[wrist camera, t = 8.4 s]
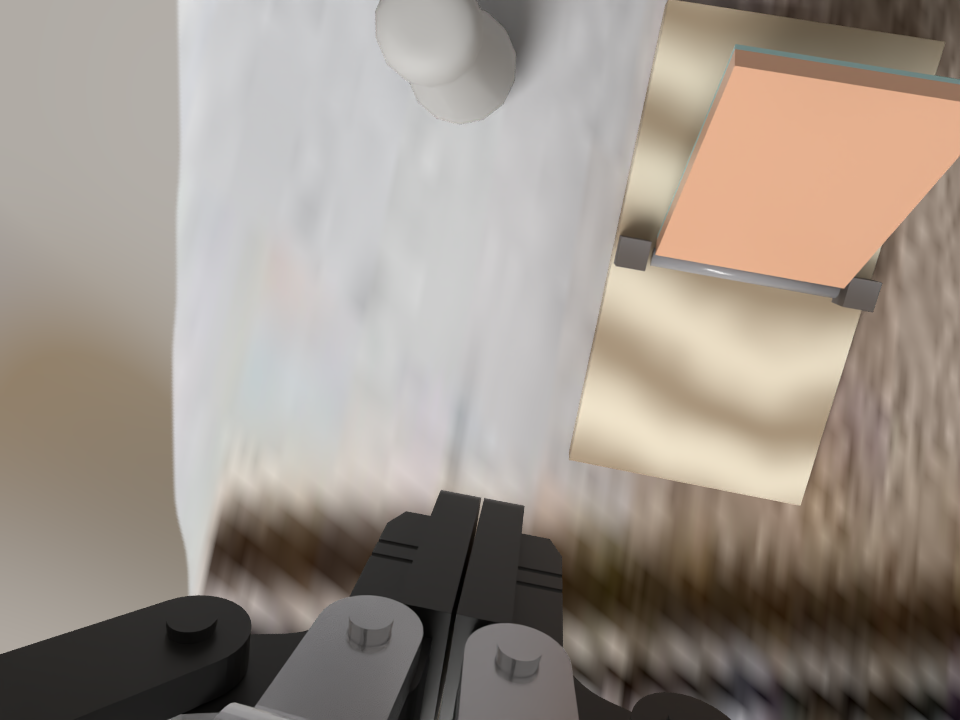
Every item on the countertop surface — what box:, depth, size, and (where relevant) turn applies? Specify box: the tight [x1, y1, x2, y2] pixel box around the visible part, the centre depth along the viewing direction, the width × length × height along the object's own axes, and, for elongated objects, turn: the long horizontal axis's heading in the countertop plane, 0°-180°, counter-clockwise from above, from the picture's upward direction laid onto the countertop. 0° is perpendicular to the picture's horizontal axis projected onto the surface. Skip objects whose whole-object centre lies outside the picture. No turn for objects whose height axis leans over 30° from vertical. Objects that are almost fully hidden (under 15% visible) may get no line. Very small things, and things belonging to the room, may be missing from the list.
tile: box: [650, 44, 960, 298], centre depth 33 cm, size 13×10×1 cm
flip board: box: [569, 0, 945, 505], centre depth 39 cm, size 26×14×3 cm, turn 170°
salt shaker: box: [375, 0, 516, 125], centre depth 33 cm, size 6×6×13 cm
